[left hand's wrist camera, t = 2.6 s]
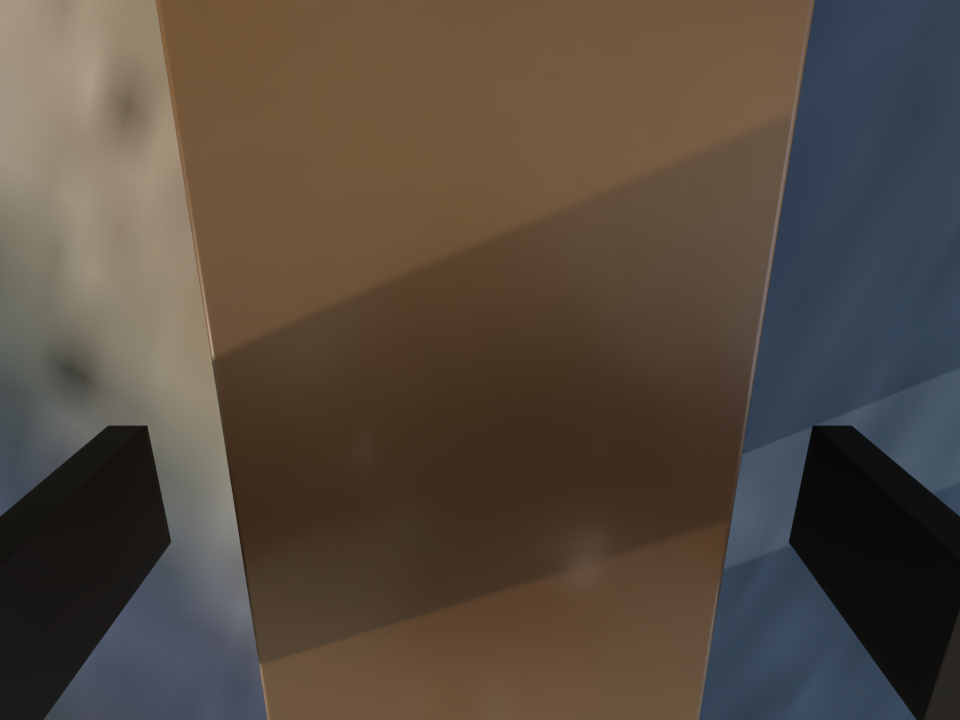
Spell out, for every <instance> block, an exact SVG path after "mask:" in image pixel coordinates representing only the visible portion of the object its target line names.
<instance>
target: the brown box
mask: <svg viewBox="0 0 960 720" xmlns="http://www.w3.org/2000/svg"><path fill="white" fill-rule="evenodd" d="M814 3H815V0H156V5H157V11H158V17H159V24H160V30H161V37H162V43H163V50H164V56H165V62H166V69H167V75H168V82H169V88H170V95H171V101H172V107H173V114H174V120H175V127H176V133H177V140H178V146H179V152H180V159H181V165H182V172H183V178H184V184H185V191H186V197H187V204H188V210H189V217H190V223H191V229H192V236H193V242H194V249H195V255H196V262H197V268H198V274H199V281H200V287H201V294H202V300H203V306H204V313H205V319H206V326H207V332H208V339H209V345H210V351H211V358H212V364H213V371H214V377H215V384H216V390H217V396H218V403H219V409H220V416H221V422H222V429H223V435H224V441H225V448H226V454H227V461H228V467H229V473H230V480H231V486H232V493H233V499H234V506H235V512H236V518H237V525H238V531H239V538H240V544H241V551H242V557H243V563H244V570H245V576H246V583H247V589H248V596H249V602H250V608H251V615H252V621H253V628H254V634H255V640H256V647H257V653H258V660H259V666H260V673H261V679H262V685H263V692H264V698H265V705H266V711H267V718H268V720H699V718H700V712H701V705H702V699H703V693H704V687H705V681H706V674H707V668H708V662H709V656H710V649H711V643H712V637H713V631H714V625H715V618H716V612H717V606H718V600H719V594H720V587H721V581H722V575H723V569H724V562H725V556H726V550H727V544H728V538H729V531H730V525H731V519H732V513H733V506H734V500H735V494H736V488H737V482H738V475H739V469H740V463H741V457H742V450H743V444H744V438H745V432H746V426H747V419H748V413H749V407H750V401H751V395H752V388H753V382H754V376H755V370H756V363H757V357H758V351H759V345H760V339H761V332H762V326H763V320H764V314H765V307H766V301H767V295H768V289H769V283H770V276H771V270H772V264H773V258H774V252H775V245H776V239H777V233H778V227H779V220H780V214H781V208H782V202H783V196H784V189H785V183H786V177H787V171H788V164H789V158H790V152H791V146H792V140H793V133H794V127H795V121H796V115H797V108H798V102H799V96H800V90H801V84H802V77H803V71H804V65H805V59H806V53H807V46H808V40H809V34H810V28H811V21H812V15H813V9H814Z"/></svg>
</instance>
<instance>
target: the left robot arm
mask: <svg viewBox="0 0 960 720" xmlns="http://www.w3.org/2000/svg"><path fill="white" fill-rule="evenodd" d="M170 543H171V539H170V534H169V529H168V524H167V519H166V515H165V510H164V505H163V500H162V495H161V490H160V486H159V481H158V476H157V471H156V466H155V461H154V456H153V452H152V447H151V442H150V437H149V432H148V427H147V426H107V427H106V428H105V429H104V430H103V431H101V432H100V433H99V434H98V435H97V436H95V437H94V438H93V439H92V440H91V441H90V442H88V443H87V444H86V445H85V446H84V447H82V448H81V449H80V450H79V451H78V452H76V453H75V454H74V455H73V456H72V457H71V458H69V459H68V460H67V461H66V462H65V463H63V464H62V465H61V466H60V467H59V468H57V469H56V470H55V471H54V472H53V473H52V474H50V475H49V476H48V477H47V478H46V479H44V480H43V481H42V482H41V483H40V484H38V485H37V486H36V487H35V488H34V489H33V490H31V491H30V492H29V493H28V494H27V495H25V496H24V497H23V498H22V499H21V500H19V501H18V502H17V503H16V504H15V505H14V506H12V507H11V508H10V509H9V510H8V511H6V512H5V513H4V514H3V515H2V516H0V720H44V718H45V717H46V715H47V714H48V713H49V711H50V710H51V708H52V707H53V706H54V704H55V703H56V701H57V700H58V699H59V697H60V696H61V695H62V693H63V692H64V690H65V689H66V688H67V686H68V685H69V683H70V682H71V681H72V679H73V678H74V676H75V675H76V674H77V672H78V671H79V670H80V668H81V667H82V665H83V664H84V663H85V661H86V660H87V658H88V657H89V656H90V654H91V653H92V651H93V650H94V649H95V647H96V646H97V644H98V643H99V642H100V640H101V639H102V638H103V636H104V635H105V633H106V632H107V631H108V629H109V628H110V626H111V625H112V624H113V622H114V621H115V619H116V618H117V617H118V615H119V614H120V613H121V611H122V610H123V608H124V607H125V606H126V604H127V603H128V601H129V600H130V599H131V597H132V596H133V594H134V593H135V592H136V590H137V589H138V588H139V586H140V585H141V583H142V582H143V581H144V579H145V578H146V576H147V575H148V574H149V572H150V571H151V569H152V568H153V567H154V565H155V564H156V562H157V561H158V560H159V558H160V557H161V556H162V554H163V553H164V551H165V550H166V549H167V547H168V546H169V544H170ZM789 543H790V544H791V546H792V547H793V549H794V550H795V551H796V553H797V554H798V556H799V557H800V558H801V560H802V561H803V562H804V564H805V565H806V567H807V568H808V569H809V571H810V572H811V574H812V575H813V576H814V578H815V579H816V581H817V582H818V583H819V585H820V586H821V588H822V589H823V590H824V592H825V593H826V594H827V596H828V597H829V599H830V600H831V601H832V603H833V604H834V606H835V607H836V608H837V610H838V611H839V613H840V614H841V615H842V617H843V618H844V619H845V621H846V622H847V624H848V625H849V626H850V628H851V629H852V631H853V632H854V633H855V635H856V636H857V638H858V639H859V640H860V642H861V643H862V644H863V646H864V647H865V649H866V650H867V651H868V653H869V654H870V656H871V657H872V658H873V660H874V661H875V663H876V664H877V665H878V667H879V668H880V670H881V671H882V672H883V674H884V675H885V676H886V678H887V679H888V681H889V682H890V683H891V685H892V686H893V688H894V689H895V690H896V692H897V693H898V695H899V696H900V697H901V699H902V700H903V701H904V703H905V704H906V706H907V707H908V708H909V710H910V711H911V713H912V714H913V715H914V717H915V718H916V720H960V516H958V515H957V514H956V513H955V512H954V511H952V510H951V509H950V508H949V507H948V506H946V505H945V504H944V503H943V502H942V501H941V500H939V499H938V498H937V497H936V496H935V495H933V494H932V493H931V492H930V491H929V490H927V489H926V488H925V487H924V486H923V485H922V484H920V483H919V482H918V481H917V480H916V479H914V478H913V477H912V476H911V475H910V474H908V473H907V472H906V471H905V470H904V469H903V468H901V467H900V466H899V465H898V464H897V463H895V462H894V461H893V460H892V459H891V458H889V457H888V456H887V455H886V454H885V453H884V452H882V451H881V450H880V449H879V448H878V447H876V446H875V445H874V444H873V443H872V442H870V441H869V440H868V439H867V438H866V437H865V436H863V435H862V434H861V433H860V432H859V431H857V430H856V429H855V428H854V427H853V426H813V427H812V432H811V437H810V442H809V447H808V452H807V456H806V461H805V466H804V471H803V476H802V481H801V486H800V490H799V495H798V500H797V505H796V510H795V515H794V519H793V524H792V529H791V534H790V539H789Z"/></svg>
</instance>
